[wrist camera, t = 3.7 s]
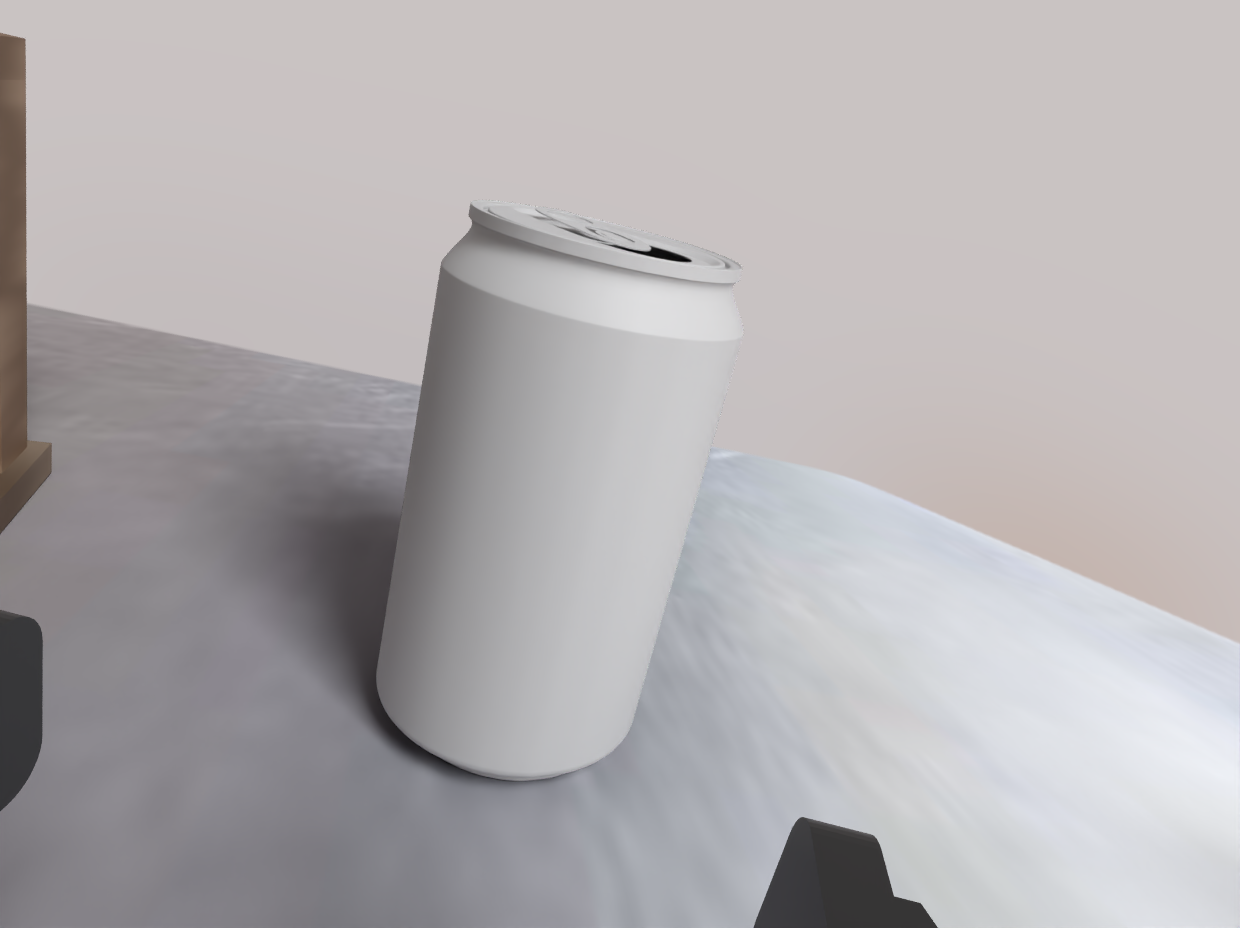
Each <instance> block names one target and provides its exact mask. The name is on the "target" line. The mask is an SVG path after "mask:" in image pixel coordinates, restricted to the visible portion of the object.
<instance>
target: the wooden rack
mask: <svg viewBox="0 0 1240 928" xmlns="http://www.w3.org/2000/svg"><path fill="white" fill-rule="evenodd" d="M25 59H26V56H25V39H24V38H19V37H15V36H11V35H7V34H3V33H0V533H1V532H2V531H3V530H4V528H5V527H6V526H7V525H8V524H9V522H10V521H11V520H12V519H13V518H14V516H15V515H16V514H17V513H18V512H19V510H20V509H21V508H22V507H23V506H24V504H25V503H26V502H27V501H28V500H29V498H30V497H31V496H32V495H33V494H34V493H35V491H36V490H37V489H38V488H39V487H40V485H41V484H42V483H43V482H44V481H45V479H46V478H47V477H48V476H49V475H50V473H51V452H52V443H46V442H37V441H28V440H27V301H26V300H27V298H26V69H25V68H26V60H25Z"/></svg>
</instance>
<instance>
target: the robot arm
mask: <svg viewBox="0 0 1240 928" xmlns="http://www.w3.org/2000/svg"><path fill="white" fill-rule="evenodd" d="M42 649H43V640H42V632H41V628H40V626H39V625H38V623H37V622H36V621H35V620H34V619H32V618H30V617H26V616H22V615H18V614H14V613H10V612H6V611H2V610H0V811H1V810H2V809H3V808H4V807H5V806H7V805H8V804H9V803H10V802H11V800H12V799H13V798H14V797H15V796H16V795H17V794H18V792H19V791H20V790H21V788H22V787H23V786H24V784H25V783H26V781H27V779H28V778H29V776H30V774H31V772H32V770H33V768H34V766H35V764H36V761H37V759H38V756H39V752H40V749H41V744H42ZM754 928H938V927H937V926H936V925H935V923H934V922H933V920H932V919H931V917H930V916H929V914H928V913H927V912H926V910H925V909H924V907H923V906H922V904H921V903H917V902H914V901H910V900H906V899H902V898H898V897H894V895H893V891H892V888H891V884H890V880H889V876H888V873H887V869H886V865H885V862H884V858H883V854H882V850H881V847H880V844H879V842H878V840H877V839H876V838H875V837H874V836H873V835H871V834H867V833H863V832H859V831H855V830H851V829H848V828H844V827H840V826H836V825H832V824H828V823H824V822H820V821H816V820H812V819H808V818H804V817H802V818H800V819H798V820H797V821H796V823H795V824H794V826H793V828H792V830H791V832H790V835H789V837H788V840H787V842H786V845H785V848H784V850H783V853H782V855H781V858H780V860H779V863H778V865H777V868H776V871H775V873H774V876H773V878H772V881H771V883H770V886H769V889H768V891H767V894H766V896H765V899H764V901H763V904H762V906H761V909H760V912H759V914H758V917H757V919H756V922H755V925H754Z"/></svg>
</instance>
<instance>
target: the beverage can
mask: <svg viewBox="0 0 1240 928" xmlns="http://www.w3.org/2000/svg"><path fill="white" fill-rule="evenodd" d="M469 217H470V218H471V219H472V227H471V228H470V230H469V231H468V233H467V234H466V235H465V236H464V237H463V238H462V239H461V240H460V241H459V242H458V243H457V244H456V245H455V246H454V247H453V248H452V249H451V250H450V252H449V253H448V254H447V255H446V256H445V257H444V259H443V260H442V262H441V268H440V274H439V280H438V287H437V293H436V299H435V306H434V312H433V318H432V324H431V331H430V337H429V344H428V350H427V356H426V363H425V369H424V375H423V381H422V388H421V394H420V400H419V406H418V413H417V419H416V425H415V432H414V438H413V444H412V451H411V457H410V463H409V470H408V476H407V482H406V488H405V495H404V501H403V507H402V514H401V520H400V526H399V533H398V539H397V545H396V552H395V558H394V564H393V571H392V577H391V583H390V589H389V596H388V602H387V608H386V615H385V621H384V627H383V634H382V640H381V646H380V653H379V659H378V665H377V674H376V680H377V689H378V694H379V697H380V700H381V703H382V705H383V707H384V709H385V711H386V712H387V714H388V715H389V717H390V718H391V720H392V721H393V722H394V723H395V725H396V726H397V727H398V728H399V729H400V730H401V731H402V732H403V733H404V734H405V735H406V736H407V737H409V738H410V739H411V740H412V741H413V742H415V743H416V744H417V745H419V746H420V747H422V748H423V749H425V750H426V751H428V752H430V753H432V754H434V755H436V756H438V757H440V758H441V759H443V760H445V761H446V762H448V763H450V764H452V765H454V766H456V767H459V768H461V769H463V770H466V771H469V772H472V773H474V774H478V775H481V776H485V777H490V778H495V779H501V780H511V781H530V780H539V779H547V778H552V777H556V776H559V775H562V774H566V773H570V772H573V771H576V770H579V769H582V768H584V767H587V766H590V765H592V764H594V763H596V762H598V761H599V760H601V759H603V758H604V757H606V756H607V755H609V754H610V753H611V752H612V751H613V750H614V749H615V748H616V747H617V746H618V745H619V744H620V743H621V742H622V741H623V739H624V738H625V736H626V735H627V733H628V732H629V730H630V728H631V725H632V722H633V719H634V715H635V712H636V708H637V705H638V701H639V698H640V694H641V691H642V687H643V684H644V680H645V677H646V673H647V670H648V666H649V663H650V659H651V656H652V652H653V649H654V645H655V642H656V638H657V635H658V631H659V628H660V624H661V621H662V617H663V614H664V610H665V607H666V603H667V600H668V596H669V593H670V589H671V586H672V582H673V579H674V576H675V572H676V569H677V565H678V562H679V558H680V555H681V551H682V548H683V544H684V541H685V537H686V534H687V530H688V527H689V523H690V520H691V516H692V513H693V509H694V506H695V502H696V499H697V495H698V492H699V488H700V485H701V481H702V478H703V474H704V471H705V467H706V464H707V460H708V457H709V453H710V450H711V446H712V443H713V439H714V436H715V432H716V428H717V425H718V422H719V418H720V415H721V411H722V408H723V404H724V401H725V397H726V394H727V390H728V387H729V383H730V380H731V376H732V373H733V369H734V366H735V362H736V359H737V355H738V352H739V348H740V345H741V341H742V338H743V335H744V329H743V325H742V321H741V318H740V315H739V312H738V309H737V306H736V303H735V300H734V296H733V285H734V284H735V283H736V282H739V280H740V277H741V273H742V270H743V267H742V266H741V265H740V264H739V263H737V262H735V261H733V260H731V259H729V258H727V257H724V256H722V255H719V254H717V253H714V252H711V251H709V250H706V249H703V248H700V247H697V246H694V245H691V244H688V243H684V242H681V241H678V240H674V239H671V238H668V237H664V236H660V235H657V234H653V233H650V232H646V231H642V230H638V229H635V228H631V227H627V226H623V225H619V224H615V223H611V222H607V221H603V220H598V219H594V218H589V217H585V216H581V215H577V214H574V213H570V212H567V211H563V210H558V209H554V208H548V207H536V206H530V205H523V204H517V203H510V202H502V201H493V200H475V201H472V202H471V205H470V210H469Z"/></svg>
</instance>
